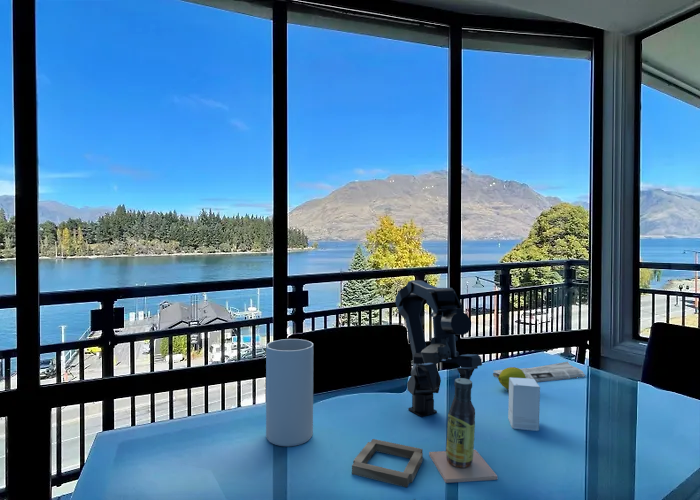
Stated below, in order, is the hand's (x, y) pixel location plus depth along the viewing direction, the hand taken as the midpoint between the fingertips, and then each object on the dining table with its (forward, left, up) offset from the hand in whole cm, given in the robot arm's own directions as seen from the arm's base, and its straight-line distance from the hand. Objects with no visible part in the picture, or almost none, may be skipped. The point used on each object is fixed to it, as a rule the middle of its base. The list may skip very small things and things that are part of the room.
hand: (447, 391), depth 117 cm
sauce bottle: (+13, -8, -12) cm, 19 cm away
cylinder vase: (-22, -37, -12) cm, 45 cm away
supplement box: (+6, +24, -12) cm, 28 cm away
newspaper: (-19, +68, -13) cm, 71 cm away
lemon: (-14, +45, -12) cm, 49 cm away
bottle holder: (+4, -23, -12) cm, 26 cm away
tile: (+13, -8, -12) cm, 20 cm away
